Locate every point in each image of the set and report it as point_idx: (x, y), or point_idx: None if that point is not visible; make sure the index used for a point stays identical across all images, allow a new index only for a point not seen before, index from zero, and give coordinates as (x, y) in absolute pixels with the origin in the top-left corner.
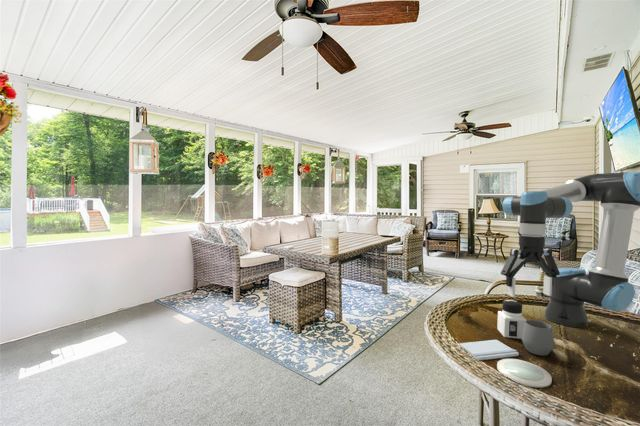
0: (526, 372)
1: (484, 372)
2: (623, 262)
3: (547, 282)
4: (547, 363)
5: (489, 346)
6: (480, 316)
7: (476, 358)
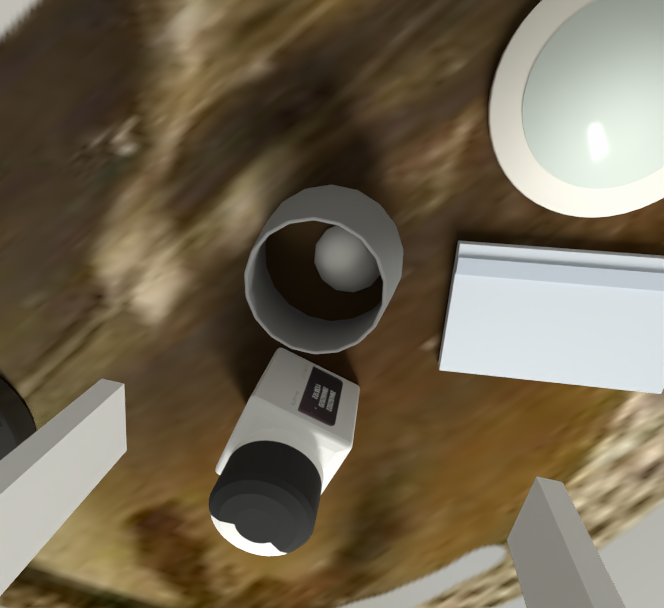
0: (627, 71)
1: None
2: None
3: (4, 531)
4: (391, 147)
5: (539, 330)
6: None
7: None
